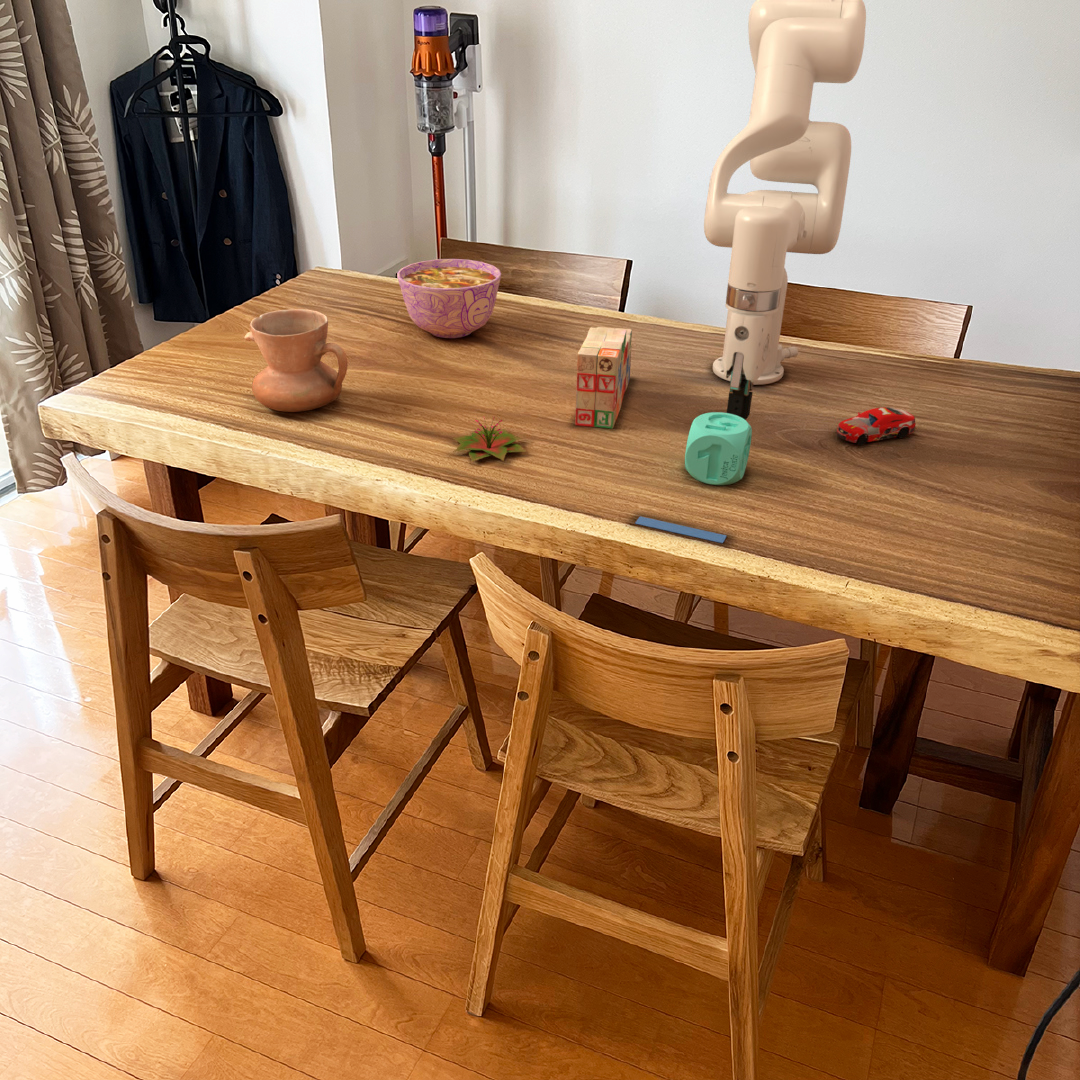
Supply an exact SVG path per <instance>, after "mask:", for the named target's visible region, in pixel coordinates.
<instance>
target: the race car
mask: <svg viewBox="0 0 1080 1080" xmlns="http://www.w3.org/2000/svg"><path fill="white" fill-rule="evenodd" d="M915 417H916V416H915V415H913V414H912V413H910V412H908V411H907V410H905V409H900V408H895V407H891V406H890V407H889V406H883V407H874V408H870V409H868V410H865V411H863V412H860V411H859V412H857V415H856V416H853V417H850V418H846V419H844V420H842V421H840V422H839V423H838V424H837V428H836V435H837V436H838V438H840V439H841V440H844V441H847V442H849V443H853V444H854V443H855V444H857V445H858V446H864V445H865V444H866V443H867V442H868V443H870V442H875V441H876V442H877V441H882V440H886V439H892V438H899V439H904V438H905V437H907V435H911V434H913V433H914V431H915V429H916V418H915Z"/></svg>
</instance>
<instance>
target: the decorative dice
mask: <svg viewBox="0 0 1080 1080" xmlns="http://www.w3.org/2000/svg"><path fill="white" fill-rule="evenodd" d="M752 437H753V429H752V426H751V425H750V423H749V422H748V421H747V419H746V420H745V419H743V418H741V417H739V416H737V415H733V414H729V413H727V412H722V411H719V412H718V411H717V412H716V411H711V412H706V413H702V414H700V415H697V416H696V417H695V418H694V419H693V421H692V422H691V425H690V429H689V432H688V436H687V441H686V445H685V453H684V469H685V470H686V472H688V474H689V475H690V476H691V477H692V478H693V479H695V480H696V481H698V482H700V483H703V484H706V485H711V486H729V485H732V484H735V483H737V482H739V481H740V480H742V479H743V477H744V475H745V472H746V469H747V465H748V461H749V456H750V451H751V446H752Z"/></svg>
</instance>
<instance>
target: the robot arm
mask: <svg viewBox="0 0 1080 1080" xmlns="http://www.w3.org/2000/svg"><path fill="white" fill-rule="evenodd" d="M749 10H750V11H749V13H748V23H747V25H748V26H747V27H748V29H747V31H748V32H747V33H748V45H749V50H750V56H751V60H752V64H753V69H754V74H755V75H754V83H753V89H752V97H751V103H750V110H749V111H750V112H749V118H748V122H747V124H746V126H745V127H744V128H743V129H742V130H740V131H739V132H738V133H737V134H736V135H735V136H734V137H733V138H732V139H731V140H730V141H729V142H728V144H726V146H725V147H724V148H723V150H722V151H721V152H720V154H719V155H718V158H717V159H716V161H715V162H714V165H713V168H712V170H711V173H710V178H709V183H708V189H707V197H706V203H705V208H704V209H705V210H704V219H703V231H704V235H705V238H706V240H707V242H709V244H711V245H713V246H715V247H721V248H729V249H731V253H730V262H729V272H728V280H727V281H728V282H727V289H726V297H725V305H724V306H725V308H726V309H727V315H726V323H725V331H724V332H725V333H724V341H723V348H722V349H723V350H722V356H720V357H718V358H716V359H715V360H713V363H712V372H713V373H714V374H715V375H716V376H717V377H719V378H720V379H723V380H725V381H727V382H729V391H728V399H727V407H726V413H729V414H733V415H737V416H739V417H741V418H743V419H745V420H746V421H747V419H748V417H749V416H750V414H751V406H752V399H753V388H754V386H761V385H762V386H763V385H769V384H773V383H775V382H776V383H777V382H778V381H780V380H781V379H782V377H783V376H784V371H785V370H784V368H785V367H784V366H783V365H782V364H781V362H784V361H785V359H792V358H796V357H798V355H799V350H798V348H797V346H789V347H785V348H784V346H783V345H782V344H780V337H781V330H782V324H783V317H784V310H785V303H786V296H787V290H788V282H789V279H788V278H789V277H788V272H787V270H786V266H785V265H786V257H787V253H792V254H805V255H806V254H807V255H825V254H829V253H831V251H833V250H834V248H835V247H836V245H837V243H838V240H839V237H840V233H841V227H842V221H843V215H844V207H845V200H846V194H847V187H848V181H849V173H850V166H851V158H852V137H851V132H850V131H849V129H848V128H847V127H846V126H845V125H843V124H842V123H838V122H834V121H833V122H832V121H813V120H810V113H811V112H810V111H811V105H812V98H813V90H814V84H815V83H822V84H823V83H825V84H847V83H849V82H851V81H852V80H853V79H855V76H856V75H857V74H858V71H859V68H860V65H861V62H862V59H863V53H864V47H865V38H866V25H867V10H866V5H865V2H864V0H755V1H754V2H753V3H752V5H751V8H750V9H749ZM747 162H749V166H750V171H751V174H752V175H753V176H754V177H755V178H757V179H758V180H761V181H767V182H774V183H787V184H798V185H799V184H801V185H811V186H814V187H815V188H816V189H817V192H800V191H793V190H792V191H789V190H776V189H775V190H774V189H758V190H752V191H748V192H746V193H728V188H729V184H730V181H731V179H732V176H733V175H734V174H735V172H736V171H737V170H738V169H739V168H741V167H742V166H743V165H745V164H746V163H747Z"/></svg>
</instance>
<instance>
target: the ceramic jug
mask: <svg viewBox="0 0 1080 1080" xmlns="http://www.w3.org/2000/svg"><path fill="white" fill-rule="evenodd" d="M249 326H250V331H249V332H246V334H245V336H244V341H247V342H254V343H255V344H256V345H257V346H258V350H259V351H260V353H261V355H262V357H263V359H264V360H265V362H266V363H267V366H266V367H264V368H263V369H262V370H261V371H259V372H258V373H257V374H256V375H254V376H253V381H252V385H251V390H252V394H253V396H254V398H255V399H256V401H257V402H258V403H259V404H261V405H262V406H264V407H265V408H269V409H271V410H274V411H278V412H286V413H288V412H289V413H296V412H297V413H298V412H300V413H301V412H306V411H312V410H316V409H320V408H322V407H324V406H326V405H329V404H331V403H332V402H334V401H335V400H336V399H337V398H338V397H339V396H340V395H341V392H342V388H343V382H344V380H345V377H346V375H347V371H348V367H349V365H348V356H347V353H346V352H345V349H344V348H343V347H342V346H341V345H339V344H337V343H334V342H327V338H328V331H329V319H328V316H327V315H325V314H324V313H322V312H320V311H317V310H312V309H305V308H296V309H295V308H291V309H289V308H288V309H281V310H280V309H279V310H273V311H269V312H265V313H263V314H260V315H259V317H258V316H257V317H254V318H253V319H251V321H250V323H249ZM331 352H332V353H333V354H334V355H335V356H336V358H337V362H338V370H336V369H335V368H333V367H332V366H330V365H328V364H326V363H325V362H323V361H322V357H323V356H324V355H326V354H327V353H331Z"/></svg>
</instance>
